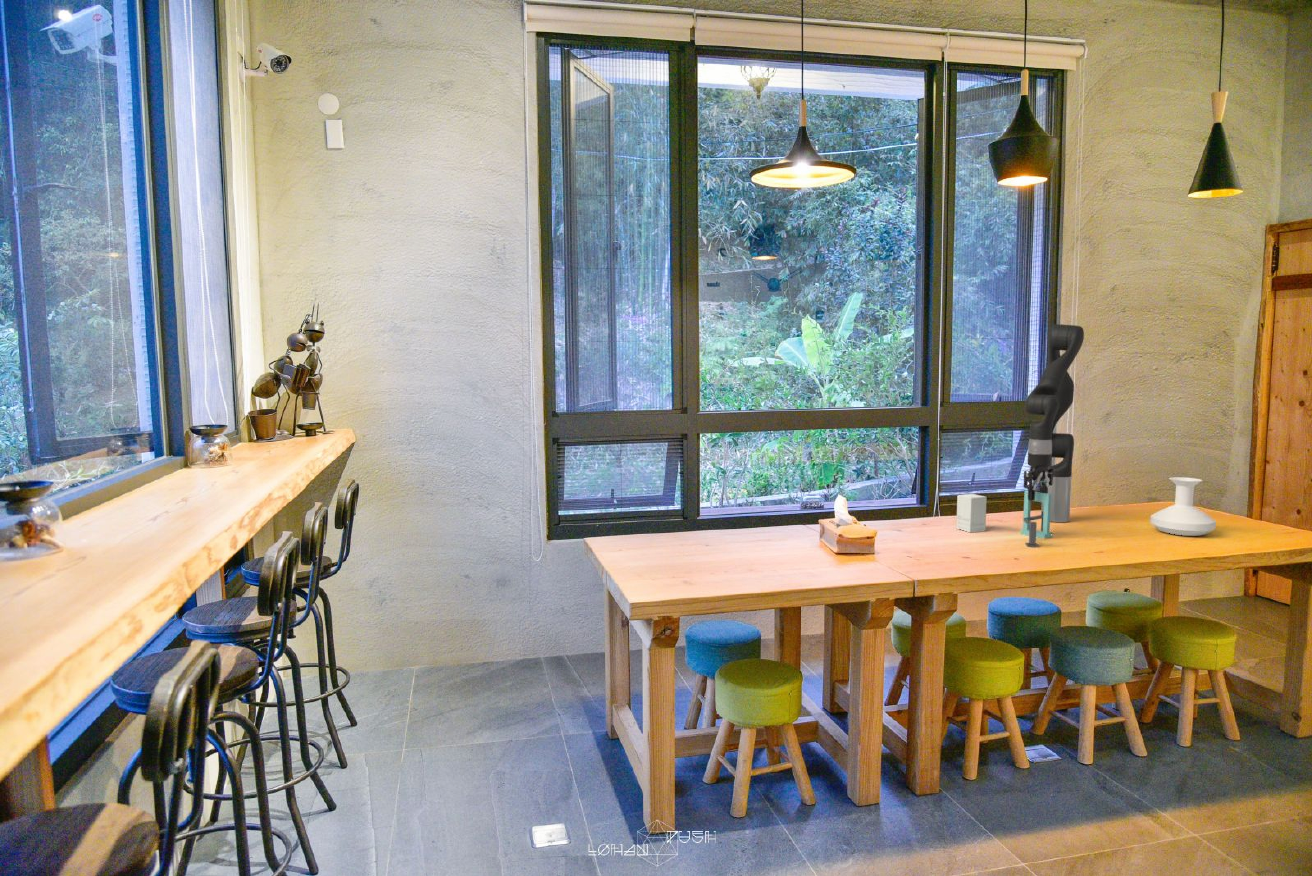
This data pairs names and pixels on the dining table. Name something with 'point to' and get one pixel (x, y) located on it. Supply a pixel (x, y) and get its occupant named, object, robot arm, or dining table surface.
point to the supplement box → (971, 513)
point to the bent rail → (1033, 529)
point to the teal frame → (1046, 515)
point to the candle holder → (1183, 512)
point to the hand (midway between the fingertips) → (1037, 499)
